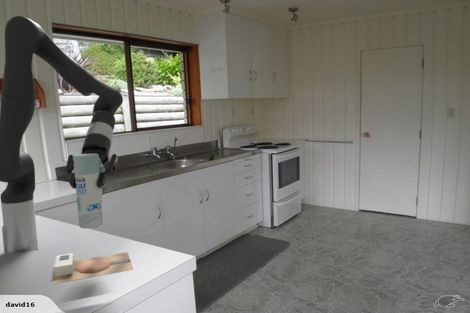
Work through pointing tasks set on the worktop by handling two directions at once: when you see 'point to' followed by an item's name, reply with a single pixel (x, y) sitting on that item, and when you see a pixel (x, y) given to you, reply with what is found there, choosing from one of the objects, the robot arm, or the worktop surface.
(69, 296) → the worktop surface
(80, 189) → the spray paint can
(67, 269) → the block
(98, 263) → the plywood panel
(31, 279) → the worktop surface
